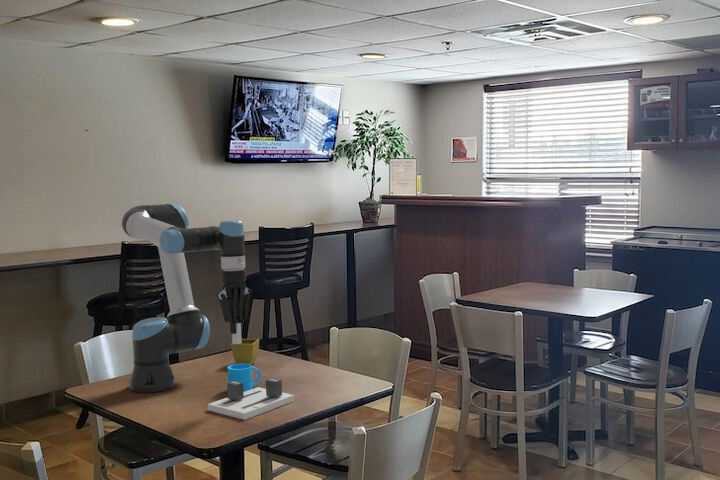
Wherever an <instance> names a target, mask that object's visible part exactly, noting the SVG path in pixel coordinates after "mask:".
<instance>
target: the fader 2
mask: <svg viewBox="0 0 720 480" xmlns="http://www.w3.org/2000/svg"><path fill="white" fill-rule="evenodd" d="M282 385H283V382H282V379H277V378H274V377H273V378H268V379H266V380H265V389H266V396H269V397H274V398H277V397H279V396H282V393H283V386H282Z"/></svg>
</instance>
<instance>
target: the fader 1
mask: <svg viewBox="0 0 720 480" xmlns="http://www.w3.org/2000/svg"><path fill="white" fill-rule="evenodd" d="M226 387H227V397H228V399H231V400H235V401H238V400H241V399H243V398H244V391H243V383H242V382H237V381H232V382H229V383H228V382H227V385H226Z"/></svg>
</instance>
